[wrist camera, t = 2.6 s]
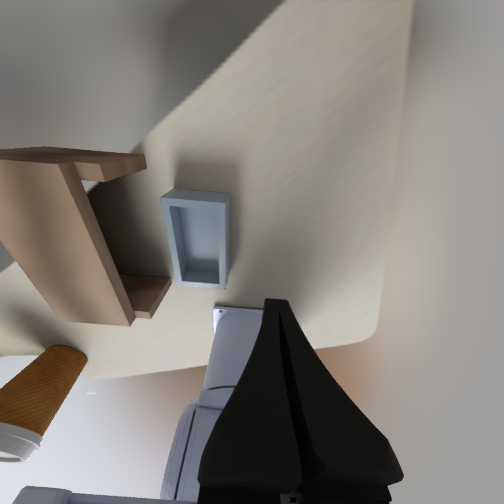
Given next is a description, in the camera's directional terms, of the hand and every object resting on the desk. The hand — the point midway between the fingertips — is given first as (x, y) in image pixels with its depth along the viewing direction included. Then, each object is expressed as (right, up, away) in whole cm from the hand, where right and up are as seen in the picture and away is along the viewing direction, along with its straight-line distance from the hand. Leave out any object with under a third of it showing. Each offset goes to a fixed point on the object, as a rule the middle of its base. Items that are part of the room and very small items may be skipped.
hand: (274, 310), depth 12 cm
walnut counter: (-15, +6, +7) cm, 17 cm away
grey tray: (-6, +5, +8) cm, 11 cm away
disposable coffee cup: (-33, -14, +21) cm, 42 cm away
